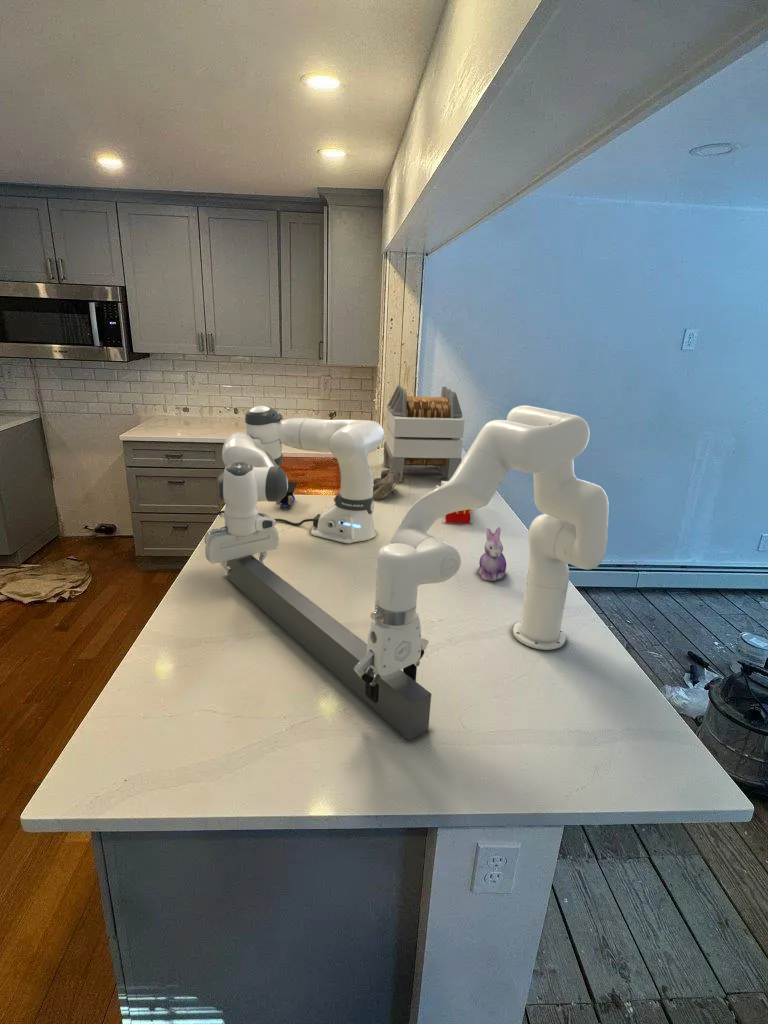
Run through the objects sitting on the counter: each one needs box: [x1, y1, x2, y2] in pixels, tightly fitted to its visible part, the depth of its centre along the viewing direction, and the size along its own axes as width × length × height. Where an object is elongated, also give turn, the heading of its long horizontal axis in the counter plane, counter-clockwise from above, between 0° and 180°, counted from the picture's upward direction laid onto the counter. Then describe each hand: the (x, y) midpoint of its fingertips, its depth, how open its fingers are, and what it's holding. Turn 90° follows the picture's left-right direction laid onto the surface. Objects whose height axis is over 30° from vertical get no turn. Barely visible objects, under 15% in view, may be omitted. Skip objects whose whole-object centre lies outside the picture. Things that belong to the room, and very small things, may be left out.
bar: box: [225, 555, 432, 742], centre depth 134 cm, size 80×5×8 cm, turn 39°
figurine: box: [478, 526, 507, 582], centre depth 169 cm, size 9×10×15 cm
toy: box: [435, 480, 472, 524], centre depth 223 cm, size 12×13×30 cm
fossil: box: [373, 469, 401, 501], centre depth 241 cm, size 22×10×15 cm
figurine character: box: [275, 481, 298, 509], centre depth 223 cm, size 7×8×15 cm
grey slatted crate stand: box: [383, 384, 465, 483], centre depth 268 cm, size 34×33×41 cm
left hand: (244, 569), depth 157 cm, fingers open, 8 cm apart
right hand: (390, 689), depth 109 cm, fingers open, 8 cm apart
